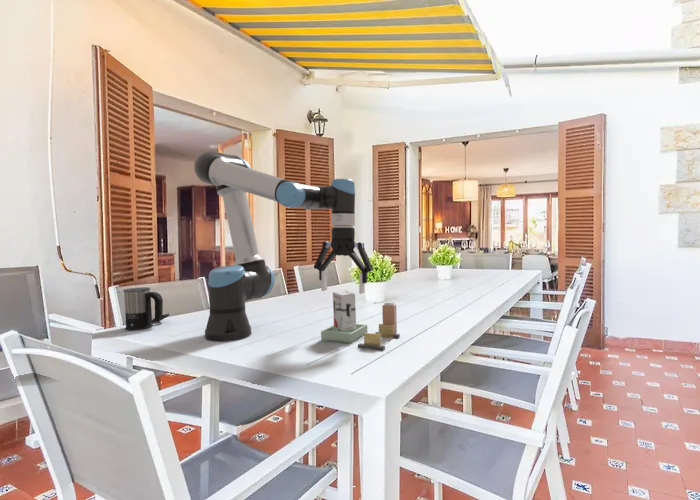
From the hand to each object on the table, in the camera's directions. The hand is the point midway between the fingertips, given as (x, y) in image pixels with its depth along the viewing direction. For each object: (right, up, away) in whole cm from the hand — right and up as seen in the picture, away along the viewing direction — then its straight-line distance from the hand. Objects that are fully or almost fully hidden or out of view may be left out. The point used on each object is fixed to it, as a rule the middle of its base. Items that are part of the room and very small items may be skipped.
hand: (342, 291), depth 140 cm
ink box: (+1, -12, 0) cm, 12 cm away
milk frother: (-75, -15, +23) cm, 80 cm away
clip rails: (+12, -15, -7) cm, 20 cm away
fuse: (+16, -15, +2) cm, 21 cm away
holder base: (+12, -15, -7) cm, 20 cm away
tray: (+1, -15, +1) cm, 15 cm away
